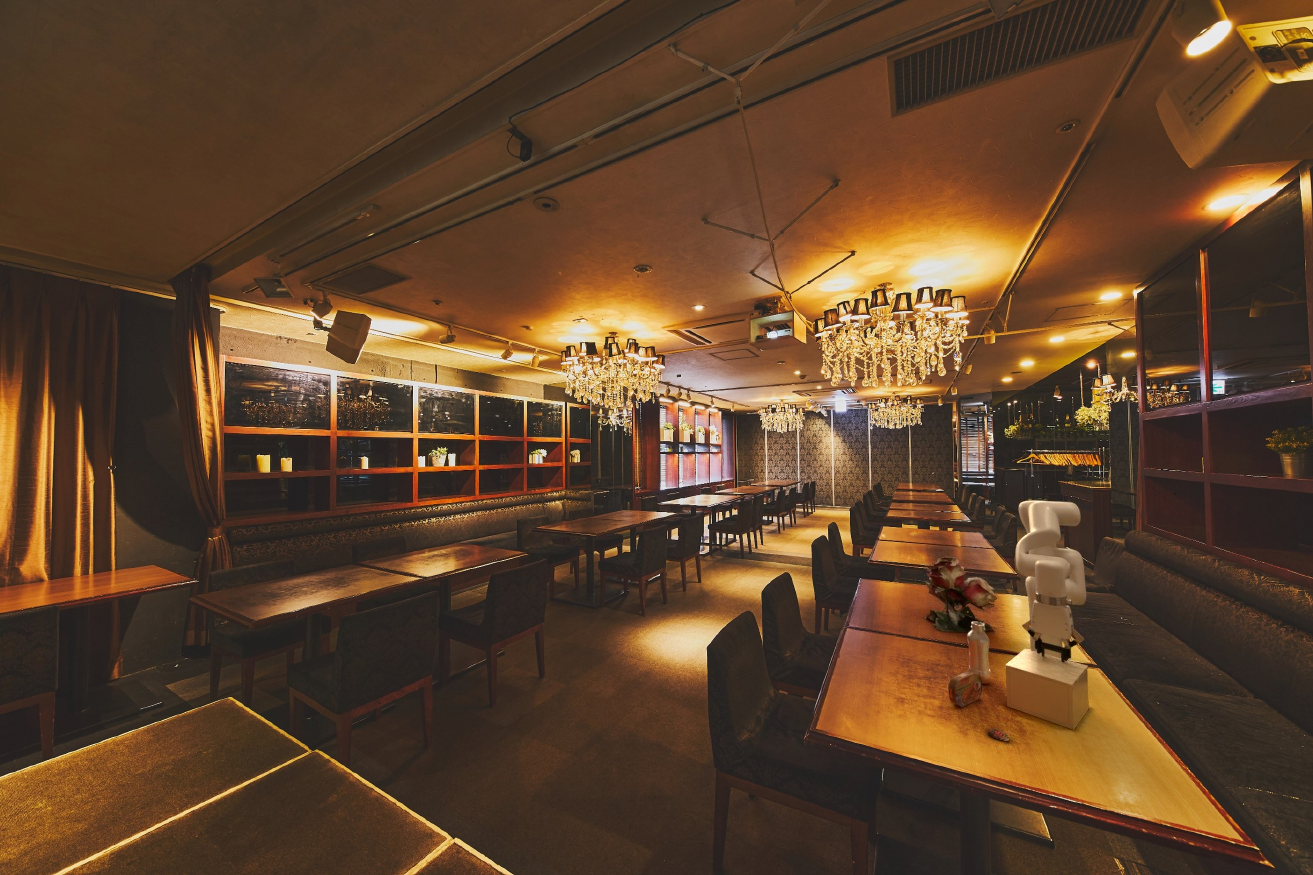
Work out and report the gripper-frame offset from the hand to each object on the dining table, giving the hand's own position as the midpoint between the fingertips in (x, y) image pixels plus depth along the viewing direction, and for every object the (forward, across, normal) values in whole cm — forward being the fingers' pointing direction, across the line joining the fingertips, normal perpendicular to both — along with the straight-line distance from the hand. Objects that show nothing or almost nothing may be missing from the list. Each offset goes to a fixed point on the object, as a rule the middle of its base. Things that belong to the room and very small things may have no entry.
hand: (1052, 655), depth 150 cm
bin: (+14, 0, +7) cm, 16 cm away
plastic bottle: (+14, +19, +5) cm, 24 cm away
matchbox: (+14, +4, +36) cm, 39 cm away
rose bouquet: (+14, +47, -50) cm, 70 cm away
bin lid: (+2, 0, +7) cm, 7 cm away
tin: (+14, +17, +23) cm, 32 cm away
